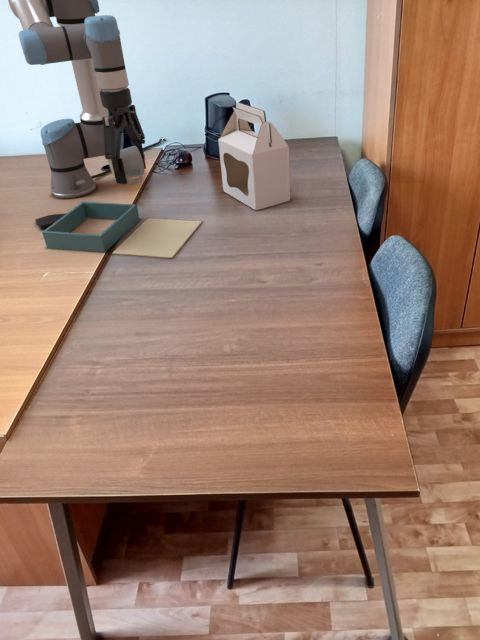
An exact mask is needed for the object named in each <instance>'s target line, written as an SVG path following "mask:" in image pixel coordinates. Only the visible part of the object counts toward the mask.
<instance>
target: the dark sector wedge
mask: <svg viewBox="0 0 480 640" xmlns="http://www.w3.org/2000/svg"><path fill="white" fill-rule="evenodd" d="M67 213H68V212H66V213H55V214H47V215H44V216H42V217H38V218H35V220H34V221H35V224H36V225H37V226H38V227H39V228H40V230H41V231H44V230H46V229H47V228H48V227H50V226H51V225H52V224H54V223H55V222H56V221H58V220H59V219H60V218H62V217H63V216H64V215H66V214H67Z"/></svg>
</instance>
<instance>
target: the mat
mask: <svg viewBox="0 0 480 640" xmlns="http://www.w3.org/2000/svg"><path fill="white" fill-rule="evenodd" d="M202 222H203V221H201V220H187V219H186V220H185V219H167V218H151V217H147V218H146V219H145V220H144V221H143V222H142V223H141V224H140V225H139V226H138V227H137V228H136V229H135V230H134V231H133V232H132V233H131V234H130V235H129V236H128V237H126V239H125V240H124V241H123V242H122V243H121V244H120V245H118V247H116V249H115V250H114V251H113V252H111V253H112V255H118V256H120V255H121V256H130V257H131V256H132V257H148V258H160V259H170V260H171V259H173V258H174V257H175V256H176V255H177V253H178V252H179V251H180V250H181V249H182V247H183V246H184V245H185V243H186V242H187V241H188V240H189V239H190V238H191V236H192V235H193V234H194V233H195V231H196V230H197V229H198V228H199V227H200V226H201V224H202Z"/></svg>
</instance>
